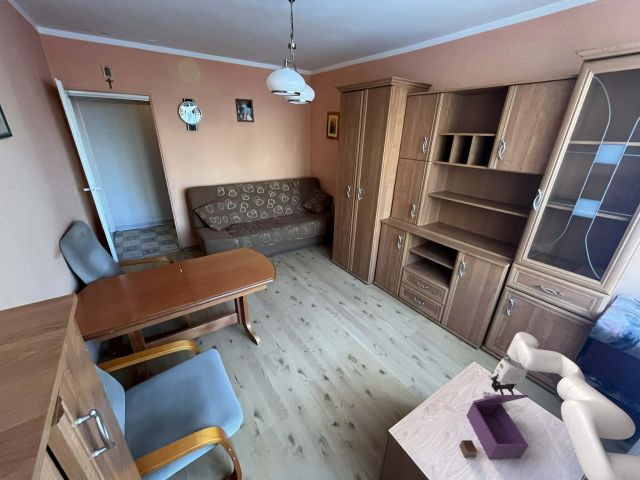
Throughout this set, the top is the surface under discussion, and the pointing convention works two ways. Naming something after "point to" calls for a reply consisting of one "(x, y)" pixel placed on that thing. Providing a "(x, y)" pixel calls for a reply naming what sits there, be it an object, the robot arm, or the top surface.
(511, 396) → the file box lid
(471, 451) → the block
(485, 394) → the tablet stand
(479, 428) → the file box
